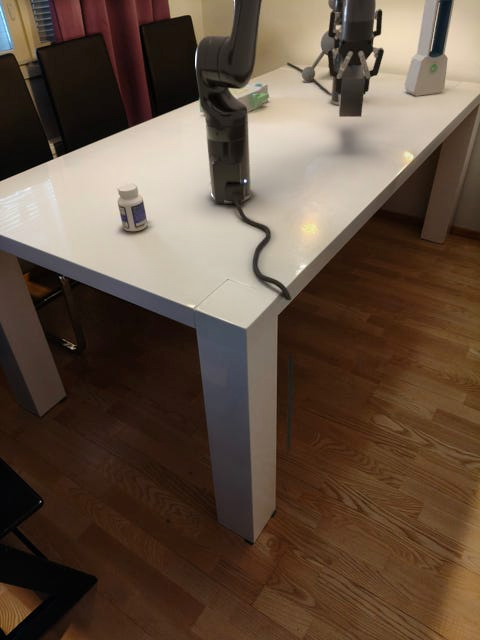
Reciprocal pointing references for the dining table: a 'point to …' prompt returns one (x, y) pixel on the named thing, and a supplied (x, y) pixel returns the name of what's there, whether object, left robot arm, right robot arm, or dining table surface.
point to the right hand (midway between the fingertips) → (352, 53)
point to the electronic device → (428, 63)
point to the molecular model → (326, 44)
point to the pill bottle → (131, 208)
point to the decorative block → (250, 95)
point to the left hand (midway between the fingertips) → (351, 93)
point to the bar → (352, 92)
